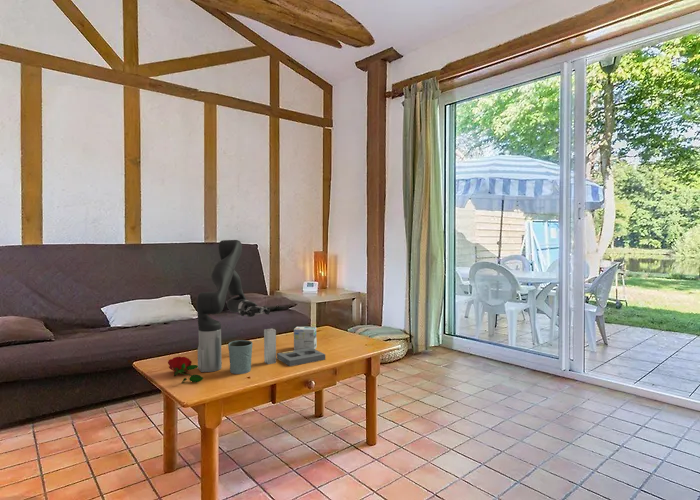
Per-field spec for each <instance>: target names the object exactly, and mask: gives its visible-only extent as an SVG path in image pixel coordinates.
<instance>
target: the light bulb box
mask: <svg viewBox="0 0 700 500" xmlns="http://www.w3.org/2000/svg"><path fill="white" fill-rule="evenodd" d="M317 347H318V346H317V326H296V327H295V328H294V329H293V351H294V350H300V349H306V348H313V349H315V350H317Z"/></svg>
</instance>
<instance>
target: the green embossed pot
mask: <svg viewBox="0 0 700 500" xmlns="http://www.w3.org/2000/svg"><path fill="white" fill-rule="evenodd" d="M227 348H228V358H229V372H230V373H231V374H233V375H243V374H247V373H250V372H251V370H252V357H253V356H252V355H253V341H251V340H248V339H247V340H243V339H241V340H239V339H237V340H232V341H230V342H228V345H227Z"/></svg>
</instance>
